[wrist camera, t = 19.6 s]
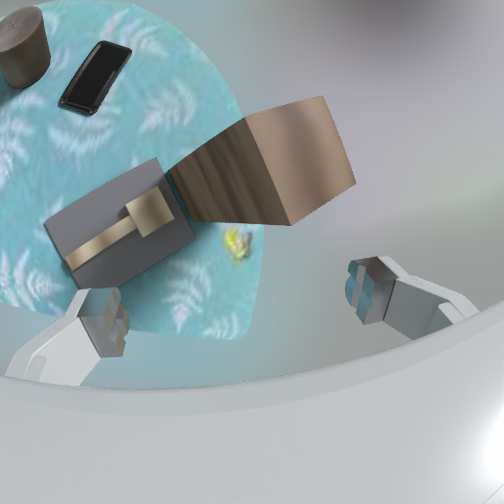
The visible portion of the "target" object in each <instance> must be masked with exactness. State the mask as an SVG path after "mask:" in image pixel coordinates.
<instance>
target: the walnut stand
mask: <svg viewBox="0 0 504 504" xmlns="http://www.w3.org/2000/svg"><path fill="white" fill-rule="evenodd" d="M168 172H169V174H170V176H171V178H172V180H173V182H174V184H175V186H176V188H177V190H178V193H179V195H180V197H181V199H182V201H183V203H184V205H185V207H186V209H187V211H188V213H189V215H190V217H191V219H192V221H200V222H225V223H247V224H267V225H286V226H292V225H293V224H295V223H296V222H298V221H299V220H301V219H302V218H304V217H305V216H307V215H309V214H310V213H312V212H313V211H315V210H316V209H317V208H319V207H321V206H322V205H324V204H325V203H327V202H329V201H330V200H331V199H333V198H334V197H336V196H338V195H339V194H341V193H342V192H344V191H345V190H347V189H348V188H350V187H352V186H353V185H355V184H356V181H355V178H354V175H353V172H352V169H351V166H350V163H349V160H348V158H347V155H346V152H345V150H344V147H343V144H342V141H341V139H340V136H339V133H338V131H337V128H336V126H335V123H334V121H333V118H332V116H331V114H330V111H329V109H328V106H327V104H326V102H325V100H324V98H323V96H318V97H314V98H310V99H306V100H302V101H298V102H294V103H290V104H286V105H283V106H279V107H276V108H272V109H269V110H265V111H262V112H259V113H256V114H253V115H249V116H247V117H244V118H242V119H241V120H239V121H238V122H236V123H234V124H233V125H231V126H230V127H228V128H227V129H225V130H224V131H222V132H221V133H219V134H218V135H216V136H215V137H213V138H212V139H210V140H209V141H208V142H206V143H205V144H203V145H202V146H200V147H199V148H198V149H196V150H195V151H193V152H192V153H191V154H189V155H188V156H187V157H185V158H184V159H182V160H181V161H180V162H178V163H177V164H176V165H175V166H173V167H172V168H171V169H169V170H168Z"/></svg>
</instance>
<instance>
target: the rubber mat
mask: <svg viewBox="0 0 504 504" xmlns="http://www.w3.org/2000/svg"><path fill="white" fill-rule="evenodd" d="M157 186H158V188H159V190H160V192H161V194H162V196H163V198H164V200H165V201H166V203H167V205H168V207H169V209H170V211H171V213H172V215H173V217H174V219H173V220H171V221H170V222H168V223H166V224H165V225H163V226H161V227H160V228H158V229H156V230H155V231H153V232H151V233H150V234H148V235H147V236H145V237H142V236H141V234H140V233H139V231H138V229H137V228H136V229H135V230H133V231H131V232H130V233H128V234H127V235H125V236H123V237H122V238H120V239H119V240H117V241H116V242H114V243H113V244H111V245H109V246H108V247H106V248H105V249H103V250H102V251H100V252H99V253H97V254H96V255H94V256H93V257H92V258H90V259H89V260H87V261H86V262H84V263H83V264H81V265H80V266H79V267H77V268H76V269H74V270H73V271H72V269H71V267H70V266H69V264H68V262H67V261H66V259H65V257H67V256H68V255H69V254H71V253H72V252H74V251H75V250H76V249H78V248H79V247H81V246H82V245H84V244H85V243H87V242H88V241H90V240H91V239H93V238H94V237H96V236H97V235H99V234H100V233H102V232H103V231H105V230H106V229H108V228H110V227H111V226H113V225H114V224H116V223H117V222H119V221H121V220H122V219H124V218H125V217H127V216H129V215H130V214H129V212H128V210H127V209H126V207H125V205H126V204H128V203H129V202H131V201H133V200H134V199H136V198H138V197H140V196H141V195H143V194H145V193H147V192H148V191H150V190H152V189H154V188H156V187H157ZM44 223H45V225H46V227H47V229H48V231H49V233H50V235H51V237H52V239H53V241H54V243H55V245H56V247H57V249H58V251H59V252H60V254H61V256H62V258H63V260H64V262H65V263H66V265H67V267H68V269H69V270H70V272H71V274H72V276H73V277H74V279H75V281H76V282H77V284H78V285H79V287H80V289H89V288H91V289H92V288H107V287H117V288H118V287H120V286H121V285H123V284H124V283H126V282H127V281H129V280H131V279H132V278H134V277H135V276H137V275H138V274H140V273H142V272H143V271H145V270H146V269H148V268H150V267H151V266H153V265H154V264H156V263H158V262H159V261H161V260H162V259H164V258H166V257H167V256H169V255H171V254H172V253H174V252H176V251H177V250H179V249H181V248H182V247H184V246H185V245H187V244H189V243H190V242H192V241H194V240H195V239H196V238H195V236H194V234H193V232H192V230H191V228H190V226H189V224H188V222H187V220H186V218H185V216H184V214H183V212H182V210H181V208H180V206H179V204H178V202H177V200H176V198H175V196H174V193H173V191H172V189H171V187H170V185H169V183H168V181H167V179H166V177H165V175H164V173H163V170H162V168H161V166H160V164H159V162H158V160H157V158H154V159H152V160H149V161H147V162H145V163H143V164H141V165H139V166H137V167H135V168H133V169H131V170H130V171H128V172H126V173H124V174H122V175H120V176H118V177H116V178H115V179H113V180H111V181H109V182H107V183H106V184H104V185H102V186H100V187H99V188H97V189H95V190H93V191H92V192H90V193H88V194H87V195H85V196H83V197H82V198H80V199H78V200H77V201H75V202H74V203H72V204H70V205H69V206H67V207H66V208H64V209H63V210H61V211H60V212H58V213H57V214H55V215H54V216H52V217H51V218H49V219H48V220H46V221H45V222H44Z"/></svg>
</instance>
